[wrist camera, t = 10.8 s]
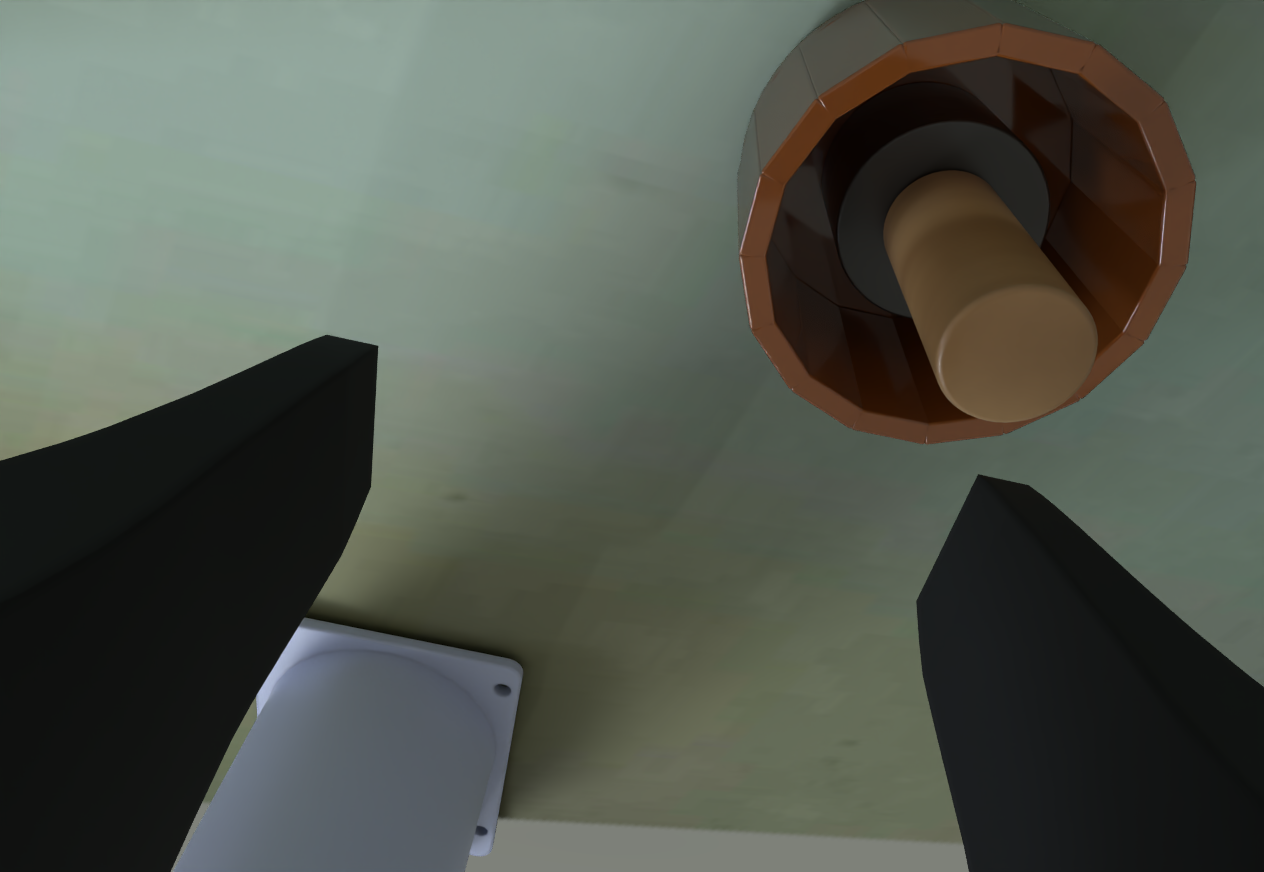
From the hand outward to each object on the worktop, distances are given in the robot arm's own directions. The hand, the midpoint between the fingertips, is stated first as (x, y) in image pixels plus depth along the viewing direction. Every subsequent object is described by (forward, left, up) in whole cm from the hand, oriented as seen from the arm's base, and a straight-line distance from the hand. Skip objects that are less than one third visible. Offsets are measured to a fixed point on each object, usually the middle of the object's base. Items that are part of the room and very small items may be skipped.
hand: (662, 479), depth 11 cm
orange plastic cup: (+2, -4, -10) cm, 11 cm away
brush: (+2, -4, -10) cm, 11 cm away
